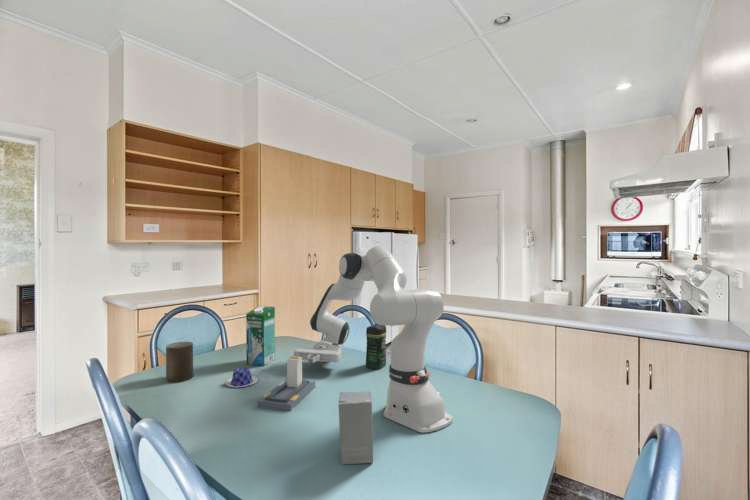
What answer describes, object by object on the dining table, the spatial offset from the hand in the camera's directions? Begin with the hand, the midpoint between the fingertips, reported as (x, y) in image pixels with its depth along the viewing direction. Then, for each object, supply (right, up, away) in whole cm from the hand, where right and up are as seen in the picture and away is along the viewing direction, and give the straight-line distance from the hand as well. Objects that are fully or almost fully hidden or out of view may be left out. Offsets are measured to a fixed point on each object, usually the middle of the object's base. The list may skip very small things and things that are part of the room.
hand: (310, 360), depth 145 cm
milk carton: (-26, -7, +19) cm, 33 cm away
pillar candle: (-52, -7, -1) cm, 53 cm away
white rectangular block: (-3, -5, -13) cm, 15 cm away
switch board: (-4, -7, -18) cm, 20 cm away
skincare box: (+21, -8, -55) cm, 59 cm away
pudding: (-26, -8, -5) cm, 27 cm away
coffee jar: (+27, -7, +14) cm, 31 cm away
